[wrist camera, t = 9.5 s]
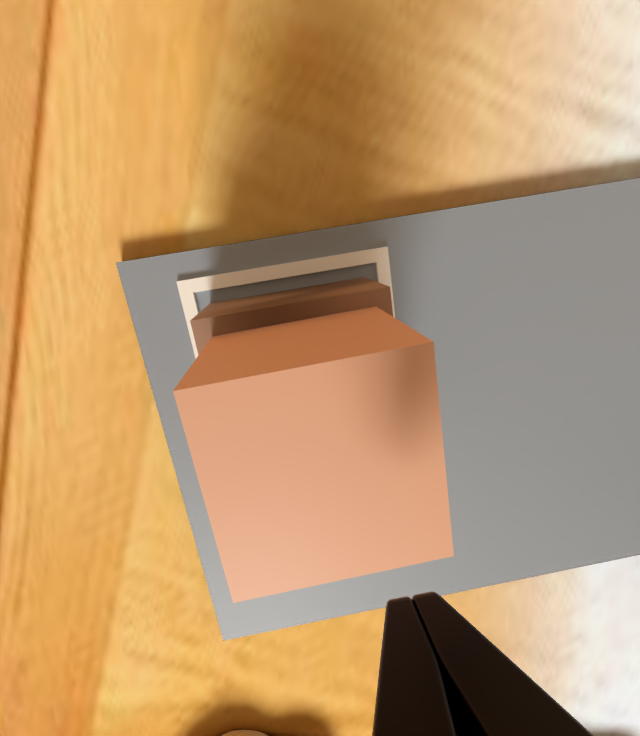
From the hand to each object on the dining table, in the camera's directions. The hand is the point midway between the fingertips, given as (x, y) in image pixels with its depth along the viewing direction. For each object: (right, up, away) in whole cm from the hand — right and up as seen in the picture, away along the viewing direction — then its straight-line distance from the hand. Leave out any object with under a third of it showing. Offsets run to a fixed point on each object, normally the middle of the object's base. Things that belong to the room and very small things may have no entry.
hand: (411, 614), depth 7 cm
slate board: (+3, +2, +12) cm, 13 cm away
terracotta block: (-2, +3, +6) cm, 7 cm away
